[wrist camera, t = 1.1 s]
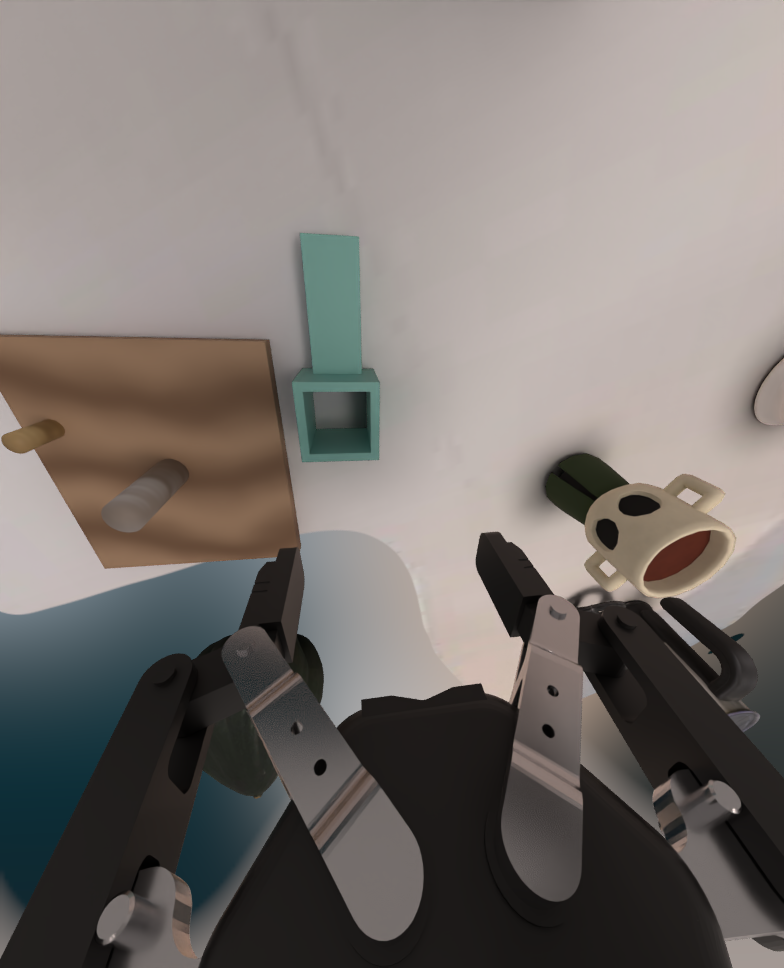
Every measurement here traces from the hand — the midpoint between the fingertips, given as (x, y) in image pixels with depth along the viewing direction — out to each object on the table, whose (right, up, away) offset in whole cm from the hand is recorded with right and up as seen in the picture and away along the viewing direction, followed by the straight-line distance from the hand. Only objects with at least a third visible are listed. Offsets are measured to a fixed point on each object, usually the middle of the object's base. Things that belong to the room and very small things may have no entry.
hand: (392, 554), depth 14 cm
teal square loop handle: (-4, +13, +10) cm, 17 cm away
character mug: (+19, +4, +19) cm, 28 cm away
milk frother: (+32, -17, +33) cm, 49 cm away
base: (-18, +5, +13) cm, 23 cm away
